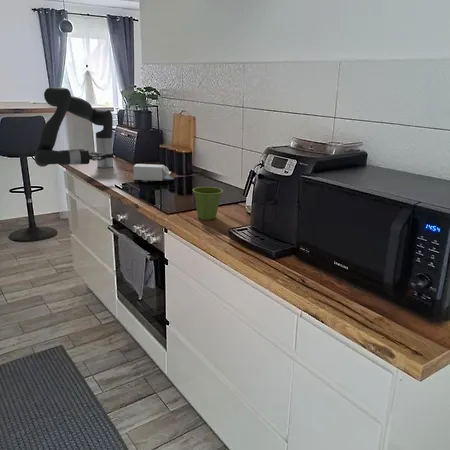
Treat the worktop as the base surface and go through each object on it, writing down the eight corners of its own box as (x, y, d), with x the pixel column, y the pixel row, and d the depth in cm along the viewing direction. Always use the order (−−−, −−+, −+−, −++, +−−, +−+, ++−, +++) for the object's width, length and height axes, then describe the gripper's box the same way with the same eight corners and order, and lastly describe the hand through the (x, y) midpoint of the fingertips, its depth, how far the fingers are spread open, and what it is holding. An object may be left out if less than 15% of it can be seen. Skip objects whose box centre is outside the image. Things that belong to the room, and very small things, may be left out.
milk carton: (136, 176, 238) (171, 178, 238) (133, 179, 231) (169, 181, 231) (136, 163, 236) (171, 165, 235) (132, 166, 229) (169, 167, 229)
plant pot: (225, 221, 171) (226, 193, 167) (195, 223, 168) (196, 194, 164) (217, 212, 182) (218, 185, 178) (189, 214, 178) (189, 186, 175)
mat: (134, 176, 242) (134, 175, 242) (164, 174, 250) (164, 173, 250) (143, 182, 230) (143, 180, 229) (174, 179, 238) (174, 178, 237)
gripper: (80, 151, 212) (116, 149, 220) (75, 147, 223) (109, 146, 231) (81, 166, 214) (117, 164, 222) (76, 162, 225) (110, 160, 233)
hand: (113, 155), depth 227 cm, fingers closed
